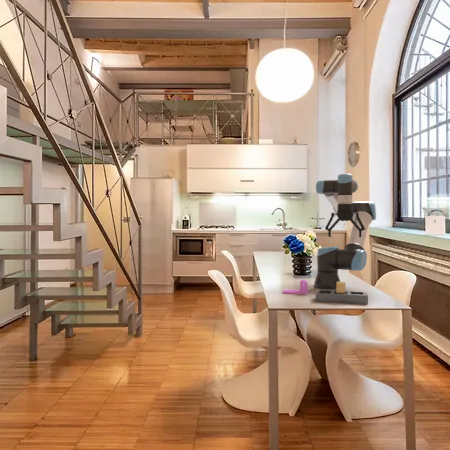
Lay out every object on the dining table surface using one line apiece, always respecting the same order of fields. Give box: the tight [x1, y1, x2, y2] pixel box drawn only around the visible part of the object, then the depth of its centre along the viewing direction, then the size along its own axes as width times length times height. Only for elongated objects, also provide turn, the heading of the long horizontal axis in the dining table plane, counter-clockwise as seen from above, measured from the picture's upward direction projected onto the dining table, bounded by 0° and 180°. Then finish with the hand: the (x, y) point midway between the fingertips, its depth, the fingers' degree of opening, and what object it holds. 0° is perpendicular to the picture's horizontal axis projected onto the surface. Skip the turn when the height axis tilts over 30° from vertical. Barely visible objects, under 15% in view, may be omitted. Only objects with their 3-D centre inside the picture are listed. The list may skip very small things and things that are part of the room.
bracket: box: [282, 279, 309, 295], centre depth 212 cm, size 13×6×7 cm, turn 81°
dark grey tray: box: [315, 289, 369, 305], centre depth 193 cm, size 9×24×4 cm, turn 78°
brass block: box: [335, 281, 346, 294], centre depth 193 cm, size 4×4×9 cm
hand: (344, 243), depth 210 cm, fingers open, 13 cm apart
